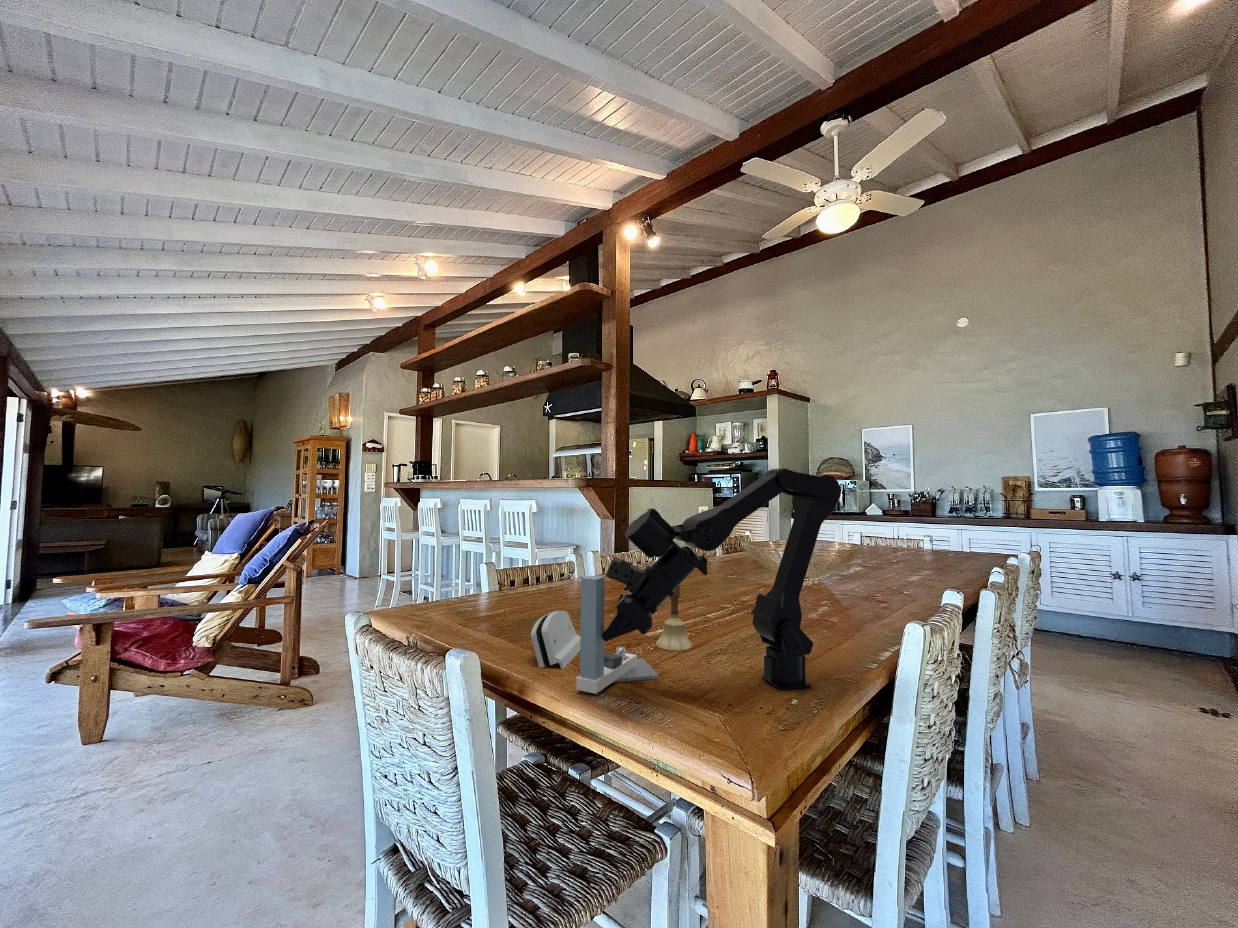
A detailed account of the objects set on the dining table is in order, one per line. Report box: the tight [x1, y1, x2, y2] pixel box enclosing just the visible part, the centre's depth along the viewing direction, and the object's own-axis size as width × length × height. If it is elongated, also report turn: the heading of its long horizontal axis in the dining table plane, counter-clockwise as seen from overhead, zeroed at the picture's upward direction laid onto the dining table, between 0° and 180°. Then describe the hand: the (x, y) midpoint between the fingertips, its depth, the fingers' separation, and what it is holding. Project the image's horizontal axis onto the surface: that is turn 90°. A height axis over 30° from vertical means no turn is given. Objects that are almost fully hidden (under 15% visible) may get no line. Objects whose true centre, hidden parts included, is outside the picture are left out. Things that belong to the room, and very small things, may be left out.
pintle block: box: [604, 646, 659, 684], centre depth 98 cm, size 13×11×4 cm
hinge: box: [530, 610, 581, 670], centre depth 109 cm, size 17×5×10 cm, turn 169°
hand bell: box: [655, 584, 693, 652], centre depth 116 cm, size 8×8×16 cm
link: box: [575, 575, 638, 695], centre depth 95 cm, size 16×4×19 cm, turn 153°
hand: (603, 638), depth 89 cm, fingers closed
